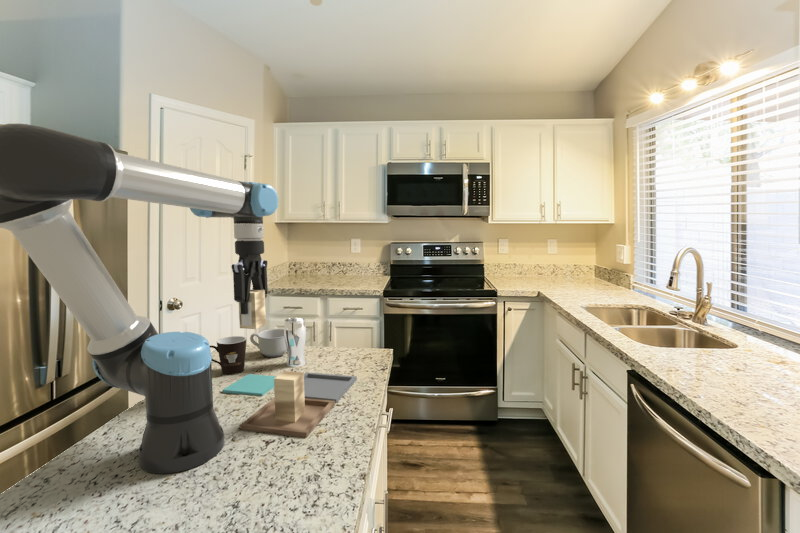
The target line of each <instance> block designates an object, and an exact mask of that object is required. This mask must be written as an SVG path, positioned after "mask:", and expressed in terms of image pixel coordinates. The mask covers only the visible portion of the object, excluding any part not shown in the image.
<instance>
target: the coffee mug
mask: <svg viewBox="0 0 800 533" xmlns="http://www.w3.org/2000/svg"><path fill="white" fill-rule="evenodd" d="M209 346H210V349H211V348H212V349H215V351H216V352H217V353H218V357H219V361H218V360H216V359H213V358H212V360H211V362H214V363H217V364H218V365H219V366H220V368H221V373H222V374H223V375H225V374H226V375H227V376H231V375H237V374H241V373H242V372H244V371H245V363H246V362H245V361H246V351H247V337H245V336H239V335H238V336H237V335H236V336H235V335H234V336H227V337H223V338H219V339H217V340H216V346H215V345H209Z"/></svg>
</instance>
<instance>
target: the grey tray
mask: <svg viewBox="0 0 800 533" xmlns="http://www.w3.org/2000/svg"><path fill="white" fill-rule="evenodd" d="M357 377H358V376H355V375H344V374H343V375H342V374H332V373H322V372H321V373H319V372H309V371H308V372H307V371H306V372H305V373H304V395H305V398H309V399H319V400H330V401H335V404H337V403H338V402H339V401H340V400H341V398H342V397H343V396H344V395H345V394H346V393H347V392H348V391H349V390H350V389H351V387H352V386H353V385H354V384H355V383H356V382H357V379H358V378H357Z"/></svg>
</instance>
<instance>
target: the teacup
mask: <svg viewBox="0 0 800 533" xmlns="http://www.w3.org/2000/svg"><path fill="white" fill-rule="evenodd" d="M254 337H256V338H257V340H258V341H255V339H254ZM249 339H250V342H251V344H253V345H254V347H255V346H256V347H257V348H258V349H259V352H260V353H261V354H262V355H264V356H265V357H269V358H276V357H280V356H282V355H284V354H285V353H286V352H287V348H286V343H285V338H284V328H270V329H266V330H262V331H260V332H259V333H258V332H253V333H252V334H251V335H250V337H249Z"/></svg>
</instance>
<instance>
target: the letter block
mask: <svg viewBox="0 0 800 533" xmlns="http://www.w3.org/2000/svg"><path fill="white" fill-rule="evenodd" d="M265 295H266V294H265V290H264V289H263V290H253V289H250V296H249V302H251V311H252V326H242V320H241V308H240V302H238V318H239V329H248V330H257V329H260V328H262V327H264V326H267V314H266V312H267V311H266V298H265Z"/></svg>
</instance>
